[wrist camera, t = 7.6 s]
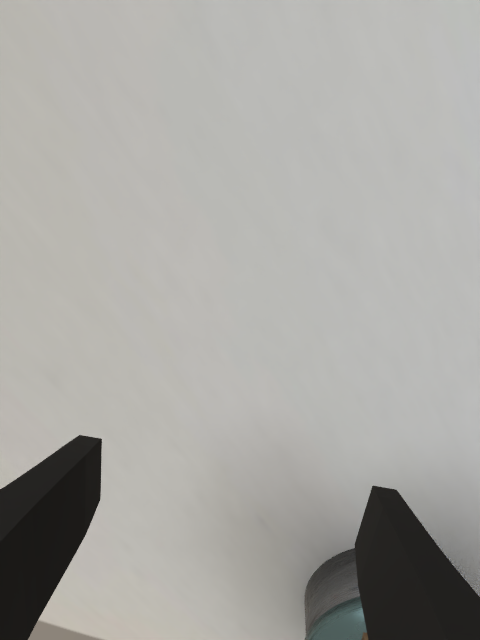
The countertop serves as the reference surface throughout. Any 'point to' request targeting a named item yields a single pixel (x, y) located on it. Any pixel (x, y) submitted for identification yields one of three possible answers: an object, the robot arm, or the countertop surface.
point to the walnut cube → (365, 636)
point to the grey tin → (334, 601)
